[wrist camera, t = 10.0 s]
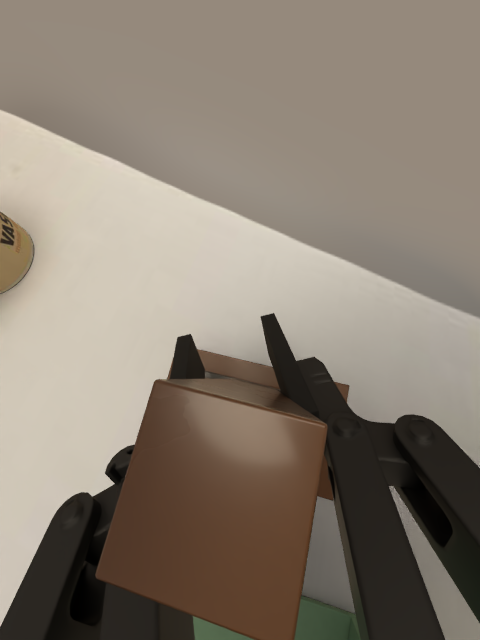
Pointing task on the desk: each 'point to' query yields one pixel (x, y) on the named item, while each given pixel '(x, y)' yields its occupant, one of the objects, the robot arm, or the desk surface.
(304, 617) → the dustpan
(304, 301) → the desk surface
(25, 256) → the coffee cup
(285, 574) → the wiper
